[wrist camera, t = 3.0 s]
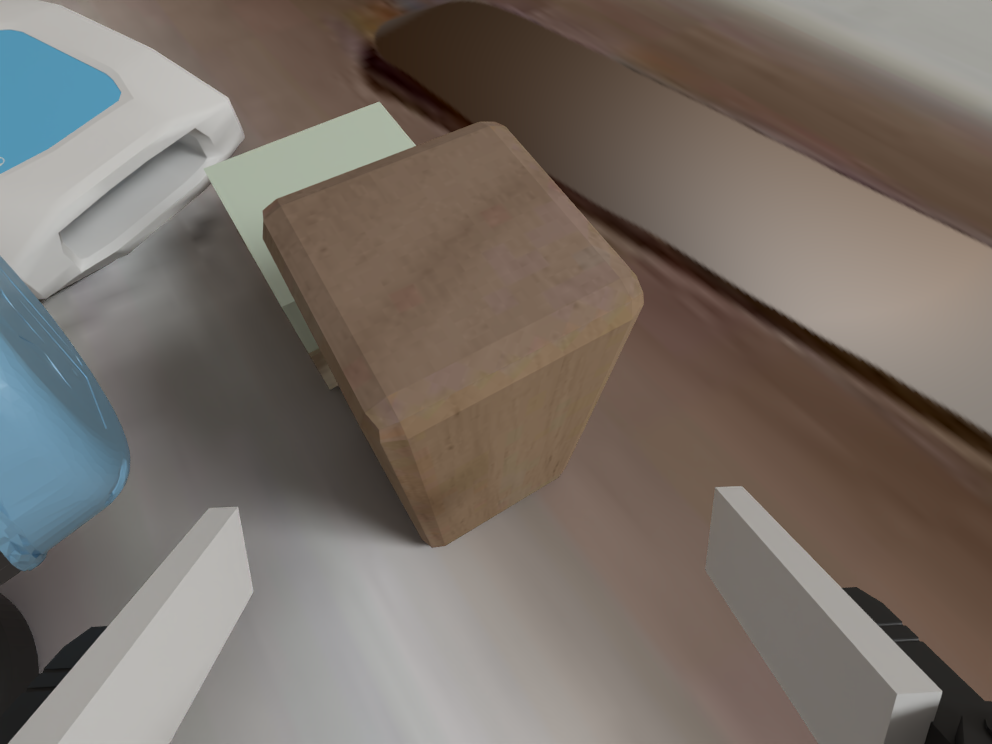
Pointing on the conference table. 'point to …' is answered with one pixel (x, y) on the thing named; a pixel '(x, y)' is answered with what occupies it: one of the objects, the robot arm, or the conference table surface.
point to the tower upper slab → (300, 181)
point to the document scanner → (94, 142)
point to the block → (457, 317)
